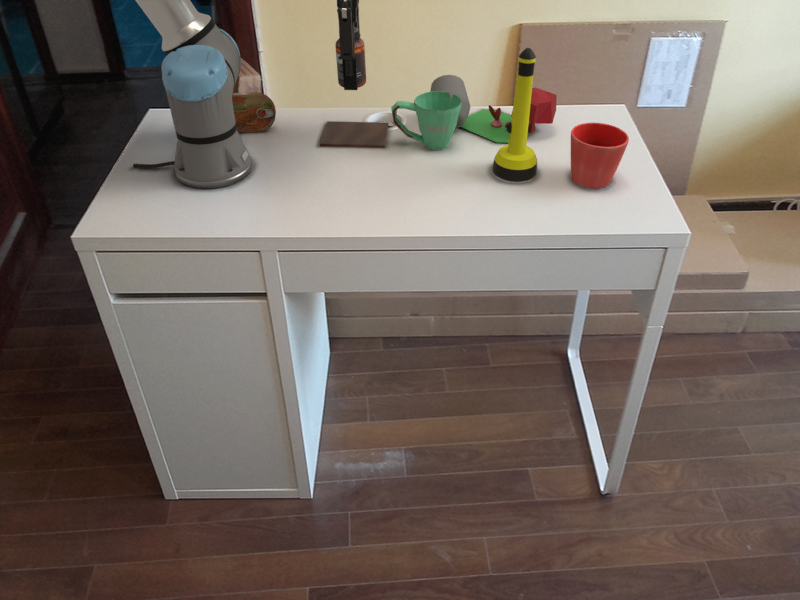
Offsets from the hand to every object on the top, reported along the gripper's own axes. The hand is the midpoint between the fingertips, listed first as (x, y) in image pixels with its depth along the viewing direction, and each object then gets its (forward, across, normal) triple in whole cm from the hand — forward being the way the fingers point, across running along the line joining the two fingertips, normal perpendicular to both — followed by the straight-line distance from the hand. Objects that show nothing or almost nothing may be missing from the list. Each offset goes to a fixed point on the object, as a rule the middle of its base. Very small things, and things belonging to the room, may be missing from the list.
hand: (352, 82), depth 144 cm
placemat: (+12, 0, 0) cm, 12 cm away
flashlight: (+12, -15, -34) cm, 39 cm away
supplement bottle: (0, 0, 0) cm, 0 cm away
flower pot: (+12, -17, -49) cm, 53 cm away
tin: (+12, +2, +25) cm, 28 cm away
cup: (+9, +1, -21) cm, 23 cm away
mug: (+12, -4, -16) cm, 20 cm away
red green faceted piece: (+12, +5, -34) cm, 36 cm away
